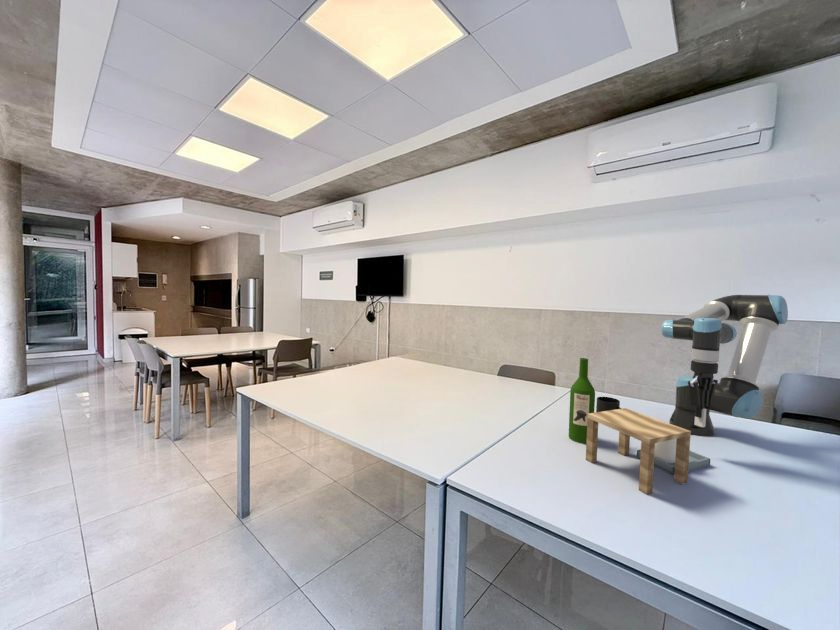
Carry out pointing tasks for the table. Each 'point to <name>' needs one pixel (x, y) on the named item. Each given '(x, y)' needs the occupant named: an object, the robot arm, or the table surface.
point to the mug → (607, 404)
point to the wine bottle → (581, 404)
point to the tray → (694, 462)
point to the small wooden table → (648, 434)
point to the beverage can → (666, 451)
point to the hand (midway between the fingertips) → (699, 425)
